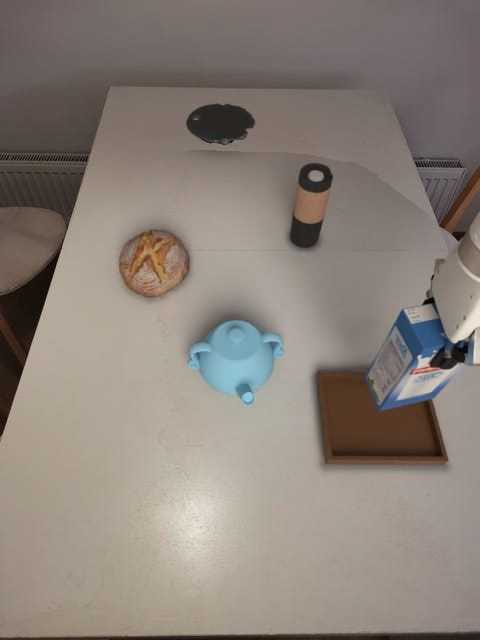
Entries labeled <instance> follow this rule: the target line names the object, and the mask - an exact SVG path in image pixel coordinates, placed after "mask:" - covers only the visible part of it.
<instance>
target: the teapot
mask: <svg viewBox="0 0 480 640" xmlns="http://www.w3.org/2000/svg"><path fill="white" fill-rule="evenodd" d="M271 342H275V343H274V344H273V346H272V343H271ZM282 346H283V338H282V336H281V334H279V333H277V332H265V333H264V331H263V330H261V329H260V328H259V326H256V325H255V324H253V323H251V322H248V321H246V320H242V319H233V320H232V319H231V320H227V321H224V322H222V323H219V324H218V325H216V326H215V327H214V328H212V329H211V330H210V331H209V332H208V333H207V334H206V335H205V337H204V339H203V340H202V341H201V342H200V341H199V342H196V343H194V344H192V345H191V346H190V348H189V356H190V358H189V359H188V360H187V367H188V369H190V370H194V371H197V370H199V372H200V375H201V377H202V378H203V380H204V381H205V382H206V383H207V384H208V385H209V387H211V388H212V389H214V390H216V391H218V392H220V393H222V394H226V395H231V396H238V398H239V399H240V401H241V402H242V404H243V405H245V406H248V407H249V406H252V405H254V404H255V402H256V395H255V394H254V392H255V391H257V390H258V389H260V388H262V387H263V386H264V385H266V383H267V382H268V381H269V379H270V377H271V376H272V374H273V370H274V367H275V360H278V359H281V358H283V357H284V355H285V349H284V348H282ZM197 353H198V355H197Z"/></svg>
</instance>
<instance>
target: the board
mask: <svg viewBox="0 0 480 640" xmlns="http://www.w3.org/2000/svg"><path fill="white" fill-rule="evenodd" d="M195 119H198V120H195ZM185 125H186V126H185V127H186V129H187V130H188V132H189V133H190V134H191V135H192V136H194V137H196V138H197V137H198V138H200V139H201V140H203V141H205V142H207V143H210V144H211V143H218V144H222V145H227V144H229V143H232V142H233V141H234V140H241V141H244V140H245V139H246V138H247V137H248V134H249V133H248V132H249V131H248V130H250V129H254V128H255V126H256V120H255V118H254V117H253V115H252V114H251V112H250V111H248V110H247V109H246V108H245V107H242V106H240V105H235V104H231V103H225V104H222V103H218V102H217V103H209V104H204V105H201V106H198V107H197V108H196V109H194V110H192V111H191V113H189V114H188V116H187V119H186V123H185ZM198 138H197V139H198ZM200 139H199V140H200ZM201 140H200V141H201Z"/></svg>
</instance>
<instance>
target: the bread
mask: <svg viewBox="0 0 480 640" xmlns="http://www.w3.org/2000/svg"><path fill="white" fill-rule="evenodd" d="M118 267H119V273H120V276H121V278H122V280H123V282H124V284H125V286H126V287H127V288H128V289H130V291H132V292H134V293H136V294H138V295H141V296H142V297H144V298H157V297H160V296H162V295H166V294H167V293H169V292H170V291H173V289H175V287H177V286H179V284H181V283H182V282H183V281H184V280H185V279H186V277H187V275H188V274H189V272H190V257H189V253H188V250H187V248H186V247H185V245H184V244H183V241H182V240H181V239H180V237H178V236H177V235H176V234H174V233H172V232H171V231H169V230H165V229H149V231H148V232H147V231H144V232H142V233H139V234H137V235H135V236H134V237H132V238H131V239H129V240H128V241H127V242H126V243H124V245H123V246H122V248H121V250H120V253H119V258H118Z"/></svg>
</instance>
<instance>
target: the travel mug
mask: <svg viewBox="0 0 480 640" xmlns="http://www.w3.org/2000/svg"><path fill="white" fill-rule="evenodd" d="M333 179H334V174H333V173H332V171H331V168H330V167H329V166H328V165H327V164H323V163H319V162H310V163H307V164H304V165H303V166H302V167H300V170H299V174H298V179H297V186H296V193H295V196H294V197H295V198H294V204H293V209H292V210H293V211H292V219H291V226H290V227H291V228H290V241H291V243H292V244H293V245H295V246H296V247H298V248H301V249H310V248H313V247H314V246H316V244H317V243H318V241H319V238H320V234H321V231H322V226H323V223H324V219H325V216H326V212H327V207H328V203H329V198H330V193H331V189H332V184H333Z"/></svg>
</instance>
